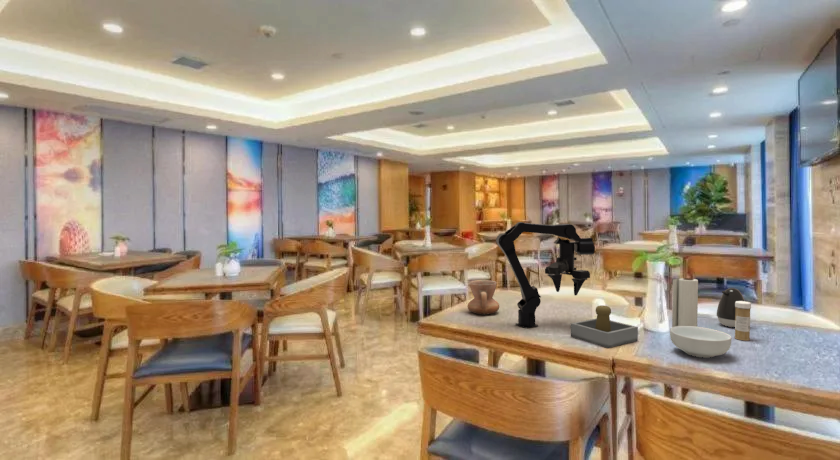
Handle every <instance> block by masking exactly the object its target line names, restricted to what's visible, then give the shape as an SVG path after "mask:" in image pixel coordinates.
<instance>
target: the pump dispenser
mask: <svg viewBox="0 0 840 460" xmlns="http://www.w3.org/2000/svg"><path fill="white" fill-rule="evenodd" d="M721 293H722V294H721V296H720V298H719V299H720V300H719V301H718V305H717V308H716V317H717V320H718V321H719V323H720V324H721V325H723V326H724V325H725V327H727V326H729V327H728V328H732V327H735V312H736V308H735V302H736V301H745V298H744V296H743V294H742V293H741V291H740V290H739V289H737V288H736V287H729V288H727V289H725V290H722V291H721Z"/></svg>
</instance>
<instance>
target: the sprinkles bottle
mask: <svg viewBox="0 0 840 460" xmlns="http://www.w3.org/2000/svg"><path fill="white" fill-rule="evenodd" d="M735 308H736V312H735V328H734V338H735V340H737V341H738V340H739V341H745V342H746V341H750V340H751V338H750V337H751V335H750V333H751V308H752V303H751V302H750V301H736V302H735Z"/></svg>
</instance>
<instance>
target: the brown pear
mask: <svg viewBox="0 0 840 460" xmlns="http://www.w3.org/2000/svg"><path fill="white" fill-rule="evenodd" d="M595 313H596V318H597V320H596V327H595V329H597V330H601V331H604V332H611V325H610V320H611V319H610V318H611V317H610V316H611V314H612V309H611V307H610V306H608V305H601V304H600V305H597V306H596V307H595Z"/></svg>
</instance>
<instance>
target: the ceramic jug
mask: <svg viewBox="0 0 840 460" xmlns="http://www.w3.org/2000/svg"><path fill="white" fill-rule="evenodd" d="M469 288H470V290H471V293H472V296H473V298H472V299H471V300H470V301H469V302H467V309H468V310H469V311H470V312H471V313H474V314H477V315H484V314H485V315H492V314H495V313H497V312H498V311H499V310H500V304H499V302H498V301H497V300H496V299H494V295H495V292H496V288H497V281H493V280H490V279H488V280H487V279H486V280H484V279H478V280H476V279H475V280H472V281H469Z"/></svg>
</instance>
